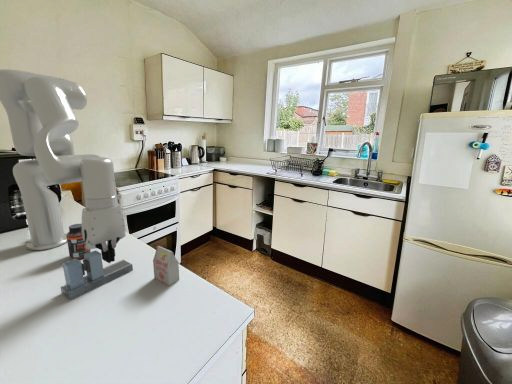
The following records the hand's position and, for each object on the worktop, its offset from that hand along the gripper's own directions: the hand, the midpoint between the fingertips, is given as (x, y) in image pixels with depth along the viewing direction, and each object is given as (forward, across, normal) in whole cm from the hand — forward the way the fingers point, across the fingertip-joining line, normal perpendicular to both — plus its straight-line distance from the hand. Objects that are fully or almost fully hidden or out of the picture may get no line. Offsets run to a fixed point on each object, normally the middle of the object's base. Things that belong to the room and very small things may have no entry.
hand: (109, 260), depth 71 cm
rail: (+5, +3, 0) cm, 6 cm away
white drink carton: (+5, -8, +15) cm, 18 cm away
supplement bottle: (+5, 0, -20) cm, 21 cm away
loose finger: (+3, +4, 0) cm, 5 cm away
